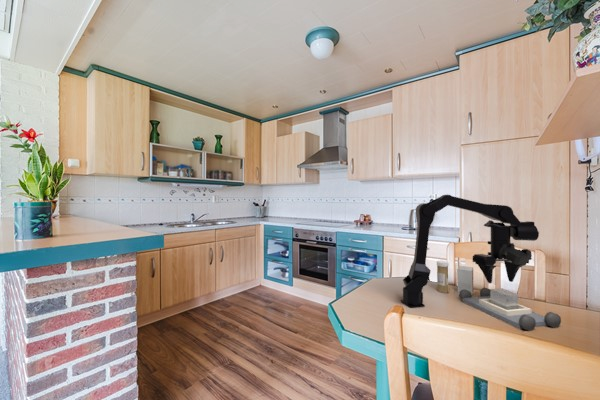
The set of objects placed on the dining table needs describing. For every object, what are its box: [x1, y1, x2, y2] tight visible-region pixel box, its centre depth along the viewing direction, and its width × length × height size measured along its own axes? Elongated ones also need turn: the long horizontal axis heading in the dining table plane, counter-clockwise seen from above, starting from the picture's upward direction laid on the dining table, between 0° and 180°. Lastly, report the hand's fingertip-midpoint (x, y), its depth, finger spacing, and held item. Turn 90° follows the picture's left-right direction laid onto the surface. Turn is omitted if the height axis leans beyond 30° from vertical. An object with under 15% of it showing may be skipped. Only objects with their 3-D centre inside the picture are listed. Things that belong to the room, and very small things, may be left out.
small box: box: [456, 265, 474, 296], centre depth 114 cm, size 8×6×10 cm
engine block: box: [489, 288, 519, 310], centre depth 92 cm, size 5×6×6 cm
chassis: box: [458, 287, 562, 332], centre depth 92 cm, size 14×25×4 cm, turn 11°
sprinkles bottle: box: [436, 260, 449, 294], centre depth 114 cm, size 5×5×14 cm
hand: (500, 282), depth 93 cm, fingers open, 9 cm apart
